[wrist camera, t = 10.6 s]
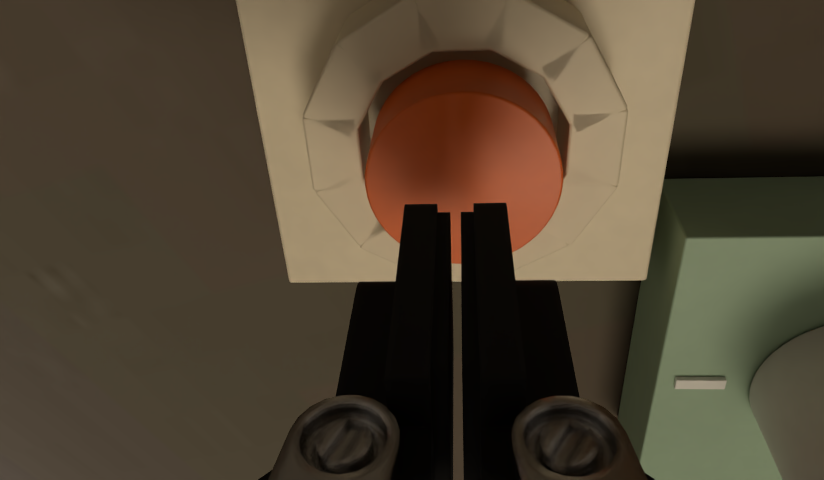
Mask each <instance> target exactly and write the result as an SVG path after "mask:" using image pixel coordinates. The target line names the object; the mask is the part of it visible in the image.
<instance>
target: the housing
mask: <svg viewBox="0 0 824 480" xmlns="http://www.w3.org/2000/svg"><path fill="white" fill-rule="evenodd" d="M236 4H237V9H238V14H239V20H240V25H241V30H242V35H243V41H244V46H245V51H246V56H247V62H248V67H249V72H250V77H251V83H252V88H253V93H254V98H255V104H256V109H257V114H258V119H259V125H260V130H261V135H262V140H263V146H264V151H265V156H266V161H267V167H268V172H269V177H270V182H271V188H272V193H273V198H274V203H275V209H276V214H277V219H278V224H279V230H280V235H281V240H282V245H283V251H284V256H285V261H286V266H287V272H288V277H289V281H290V282H376V281H396V273H397V264H398V256H399V247H400V244H399V243H398V242H397V241H396V240H395V239H393V238H392V237H391V236H390V235H389V234H388V233H387V232H386V231H385V229H384V228H383V227H382V226H381V224H380V223H379V221H378V220H377V218H376V217H375V215H374V213H373V211H372V209H371V207H370V204H369V201H368V198H367V193H366V188H365V169H366V162H367V157H368V153H369V149H370V144H371V140H372V136H373V132H374V127H375V124H376V120H377V117H378V114H379V112H380V110H381V108H382V106H383V104H384V103H385V101H386V99H387V98H388V96H389V95H390V94H391V93H392V92H393V90H394V89H395V88H396V87H397V86H398V85H399V84H401V83H402V82H403V81H404V80H405V79H407V78H408V77H410V76H411V75H412V74H414V73H416V72H418V71H420V70H422V69H424V68H426V67H428V66H431V65H434V64H437V63H441V62H446V61H452V60H478V61H484V62H489V63H492V64H495V65H499V66H501V67H503V68H506V69H508V70H510V71H512V72H513V73H515V74H517V75H518V76H520V77H521V78H523V79H524V80H525V81H526V82H527V83H529V84H530V85H531V86H532V87H533V89H534V90H535V91H536V92H537V93H538V94H539V96H540V97H541V99H542V100H543V102H544V103H545V105H546V107H547V109H548V112H549V114H550V117H551V120H552V124H553V128H554V132H555V135H556V139H557V143H558V147H559V151H560V155H561V159H562V166H563V187H562V193H561V197H560V200H559V203H558V206H557V208H556V210H555V212H554V214H553V216H552V217H551V219H550V220H549V222H548V223H547V225H546V226H545V227H544V228H543V229H542V231H541V232H540V233H539V234H538V235H537V236H536V237H535V238H533V239H532V240H531V241H530V242H529V243H527V244H526V245H524V246H523V247H521V248H520V249H518V250H516V251H514V252H512V255H513V263H514V272H515V280H555V281H635V280H646V278H647V273H648V267H649V262H650V256H651V250H652V245H653V239H654V233H655V227H656V222H657V216H658V210H659V205H660V199H661V193H662V187H663V182H664V176H665V170H666V164H667V159H668V153H669V147H670V142H671V136H672V130H673V124H674V119H675V113H676V107H677V102H678V96H679V90H680V84H681V79H682V73H683V67H684V61H685V56H686V50H687V44H688V39H689V33H690V27H691V21H692V16H693V10H694V4H695V0H236ZM459 281H461V264H454V263H452V282H459Z"/></svg>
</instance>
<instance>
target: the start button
mask: <svg viewBox="0 0 824 480" xmlns="http://www.w3.org/2000/svg"><path fill="white" fill-rule="evenodd" d="M562 187H563V166H562V159H561V155H560V151H559V147H558V143H557V139H556V135H555V132H554V128H553V124H552V120H551V117H550V114H549V112H548V109H547V107H546V105H545V103H544V102H543V100H542V99H541V97H540V96H539V94H538V93H537V92H536V91H535V90H534V89H533V87H532V86H531V85H530V84H529V83H527V82H526V81H525V80H524V79H523V78H521V77H520V76H518V75H517V74H515V73H513V72H512V71H510V70H508V69H506V68H503V67H501V66H499V65H495V64H492V63H489V62H484V61H478V60H452V61H446V62H441V63H437V64H434V65H431V66H428V67H426V68H424V69H422V70H420V71H418V72H416V73H414V74H412V75H411V76H410V77H408V78H407V79H405V80H404V81H403V82H402V83H401V84H399V85H398V86H397V87H396V88H395V89H394V90H393V92H392V93H391V94H390V95H389V96H388V98H387V99H386V101H385V103H384V104H383V106H382V108H381V110H380V112H379V114H378V117H377V120H376V124H375V127H374V132H373V136H372V140H371V144H370V149H369V153H368V157H367V162H366V169H365V188H366V193H367V198H368V201H369V204H370V207H371V209H372V211H373V213H374V215H375V217H376V218H377V220H378V221H379V223H380V224H381V226H382V227H383V228H384V229H385V231H386V232H387V233H388V234H389V235H390V236H391V237H392V238H393V239H395V240H396V241H397V242H398V243H399V244H400V239H401V230H402V222H403V213H404V206H405V204H437V205H438V212H450V219H451V261H452V263H454V264H461V212H473V204H474V203H506V204H507V211H508V220H509V228H510V237H511V246H512V252H514V251H516V250H518V249H520V248H521V247H523V246H524V245H526V244H527V243H529V242H530V241H531V240H532V239H533V238H535V237H536V236H537V235H538V234H539V233H540V232H541V231H542V229H543V228H544V227H545V226H546V225H547V223H548V222H549V220H550V219H551V217H552V216H553V214H554V212H555V210H556V208H557V206H558V203H559V200H560V197H561V193H562Z"/></svg>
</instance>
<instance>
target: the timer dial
mask: <svg viewBox="0 0 824 480" xmlns="http://www.w3.org/2000/svg"><path fill="white" fill-rule="evenodd" d="M749 401H750V406H751V409H752V412H753V414H754V417H755V419H756V421H757V423H758V425H759V428H760V430H761V432H762V434H763V437H764V439H765V441H766V443H767V446H768V448H769V450H770V452H771V455H772V457H773V459H774V461H775V463H776V466H777V468H778V470H779V472H780V475H781V477H782V479H783V480H824V326H822V327H819V328H816V329H813V330H811V331H808V332H806V333H803V334H801V335H799V336H797V337H795V338H793V339H792V340H790V341H789V342H787V343H785V344H784V345H782V346H781V347H780V348H778V349H777V350H776V351H774V352H773V353H772V354H771V355H770V356H769V357H768V358H767V359H766V360H765V361H764V362H763V364H762V365H761V366H760V367H759V369H758V371H757V372H756V374H755V376H754V378H753V380H752V383H751V387H750V394H749Z"/></svg>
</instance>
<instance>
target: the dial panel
mask: <svg viewBox="0 0 824 480" xmlns="http://www.w3.org/2000/svg"><path fill="white" fill-rule="evenodd" d="M822 326H824V176H816V177H755V178H694V179H664V182H663V187H662V193H661V199H660V205H659V210H658V216H657V222H656V227H655V233H654V239H653V245H652V250H651V256H650V262H649V267H648V273H647V278H646V280H641V284H640V290H639V296H638V302H637V308H636V314H635V320H634V326H633V331H632V337H631V343H630V349H629V355H628V361H627V367H626V373H625V379H624V385H623V390H622V396H621V402H620V408H619V414H618V420H619V422H620V423H621V425H622V426H623V428H624V429H625V431H626V432H627V435H628V437H629V439H630V441H631V444H632V446H633V448H634V450H635V452H636V455H637V457H638V459H639V461H640V464H641V466H642V468H643V470H644V472H645V473H646V474H648V475H649V476H651V477H652V478H654V479H655V480H783V479H782V477H781V475H780V472H779V470H778V468H777V466H776V463H775V461H774V459H773V457H772V455H771V452H770V450H769V448H768V446H767V443H766V441H765V439H764V437H763V434H762V432H761V430H760V428H759V425H758V423H757V421H756V419H755V417H754V414H753V412H752V409H751V406H750V401H749V394H750V387H751V383H752V380H753V378H754V376H755V374H756V372H757V371H758V369H759V367H760V366H761V365H762V364H763V362H764V361H765V360H766V359H767V358H768V357H769V356H770V355H771V354H772V353H773V352H774V351H776V350H777V349H778V348H780V347H781V346H782V345H784V344H785V343H787V342H789V341H790V340H792V339H793V338H795V337H797V336H799V335H801V334H803V333H806V332H808V331H811V330H813V329H816V328H819V327H822Z"/></svg>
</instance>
